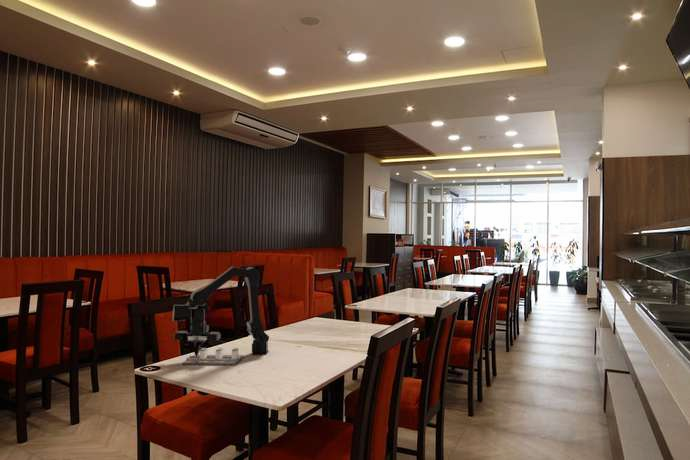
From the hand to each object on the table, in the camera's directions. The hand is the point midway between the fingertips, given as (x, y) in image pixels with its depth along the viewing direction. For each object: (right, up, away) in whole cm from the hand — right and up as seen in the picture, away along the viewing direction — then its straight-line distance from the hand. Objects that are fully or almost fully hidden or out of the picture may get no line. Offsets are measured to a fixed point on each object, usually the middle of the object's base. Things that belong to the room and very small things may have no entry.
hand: (196, 355), depth 198 cm
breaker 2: (+10, -2, 0) cm, 10 cm away
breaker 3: (+17, -2, -1) cm, 17 cm away
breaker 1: (+3, -2, 0) cm, 3 cm away
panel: (+7, -2, 0) cm, 8 cm away
